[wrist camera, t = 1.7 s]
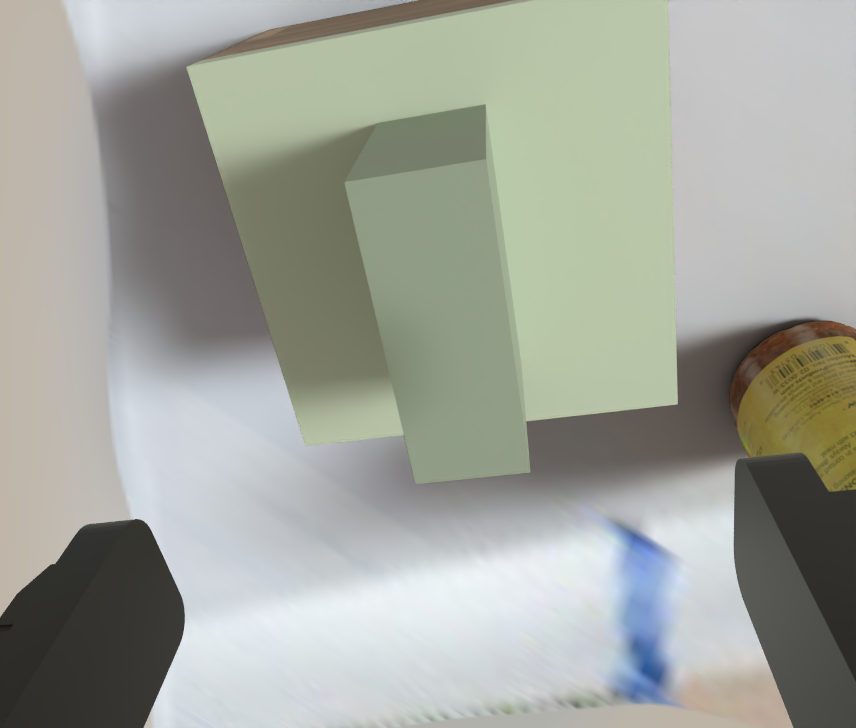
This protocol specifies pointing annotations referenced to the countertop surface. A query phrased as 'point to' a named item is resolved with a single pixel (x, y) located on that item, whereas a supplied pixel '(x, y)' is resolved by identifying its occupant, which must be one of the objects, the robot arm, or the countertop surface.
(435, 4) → the box
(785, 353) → the sauce bottle
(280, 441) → the countertop surface
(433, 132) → the lid
